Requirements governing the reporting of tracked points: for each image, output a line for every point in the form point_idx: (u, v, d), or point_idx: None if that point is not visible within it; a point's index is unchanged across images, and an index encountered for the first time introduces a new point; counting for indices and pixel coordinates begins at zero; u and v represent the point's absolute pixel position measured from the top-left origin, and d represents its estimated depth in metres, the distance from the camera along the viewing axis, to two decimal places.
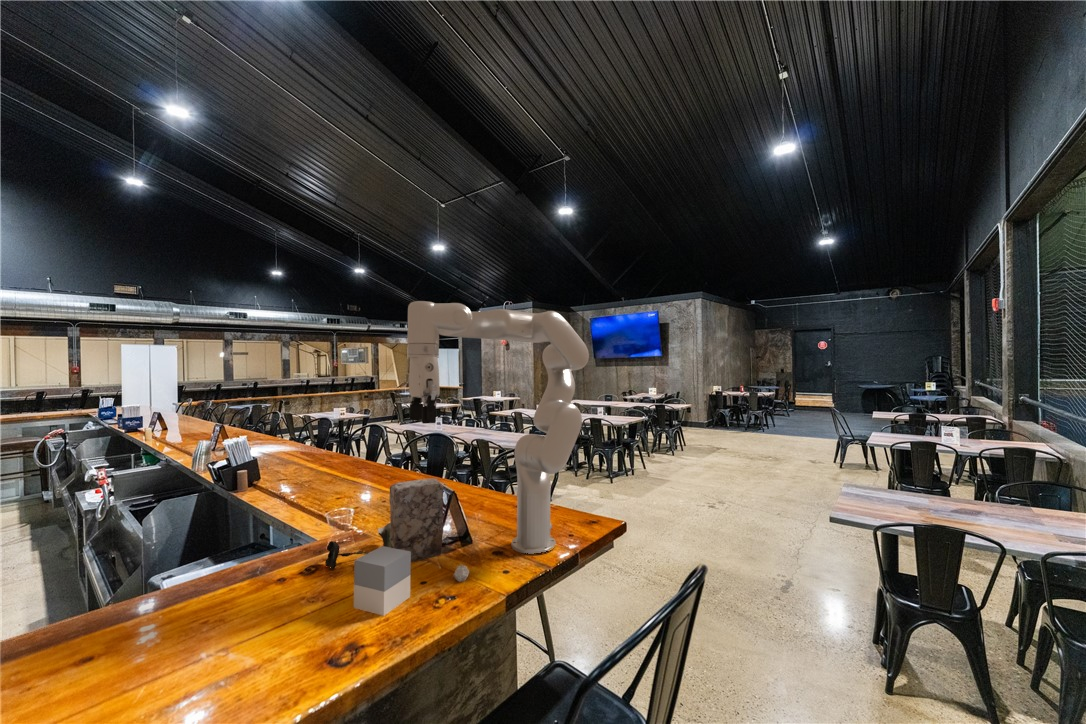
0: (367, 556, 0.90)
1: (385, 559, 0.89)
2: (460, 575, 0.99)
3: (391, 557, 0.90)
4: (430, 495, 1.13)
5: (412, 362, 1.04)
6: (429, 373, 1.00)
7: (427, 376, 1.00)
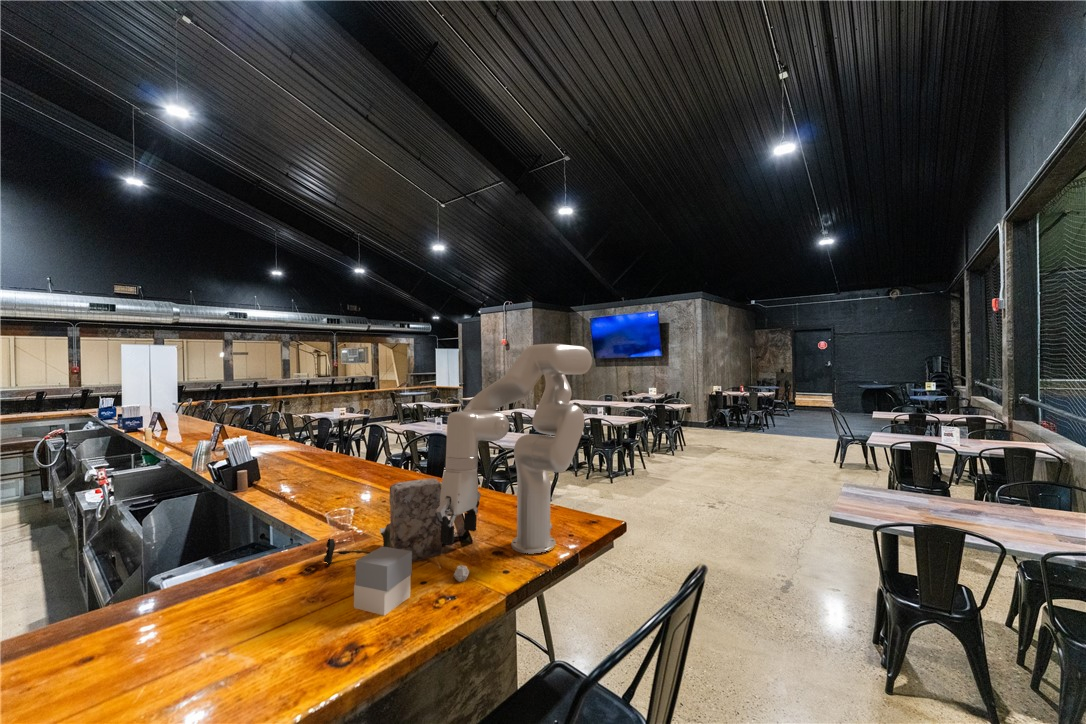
0: (368, 556, 0.90)
1: (387, 559, 0.89)
2: (460, 575, 0.99)
3: (392, 557, 0.90)
4: (430, 495, 1.13)
5: (468, 475, 1.00)
6: None
7: None
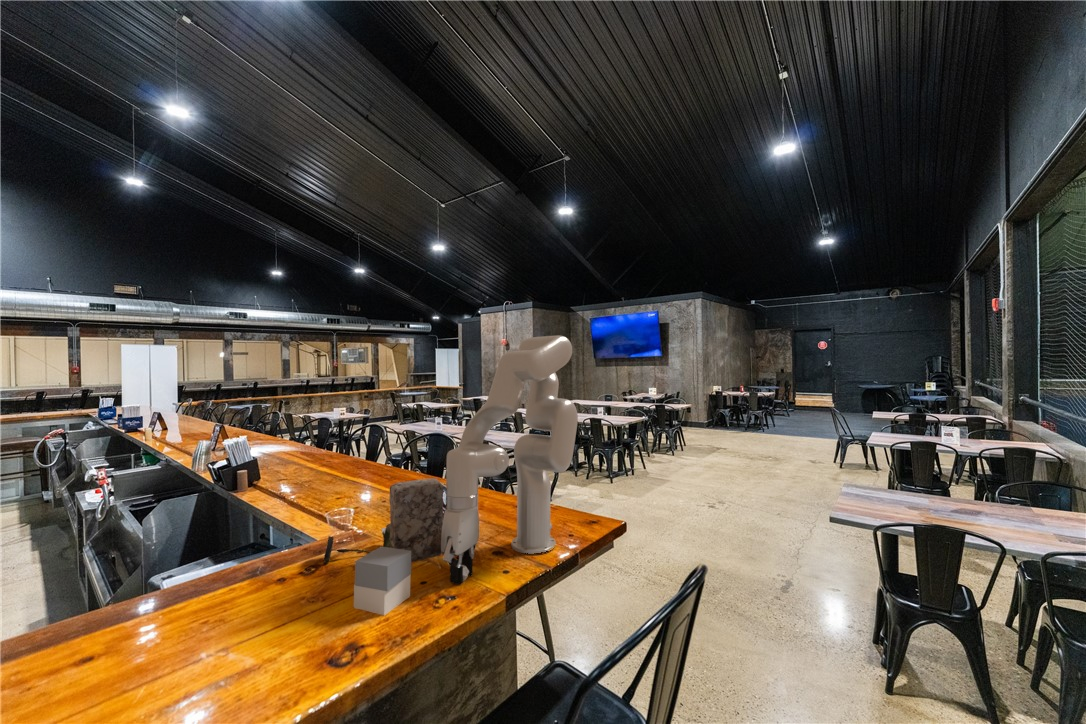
0: (367, 557, 0.90)
1: (386, 558, 0.89)
2: None
3: (392, 556, 0.90)
4: (430, 495, 1.13)
5: (469, 513, 1.00)
6: None
7: None
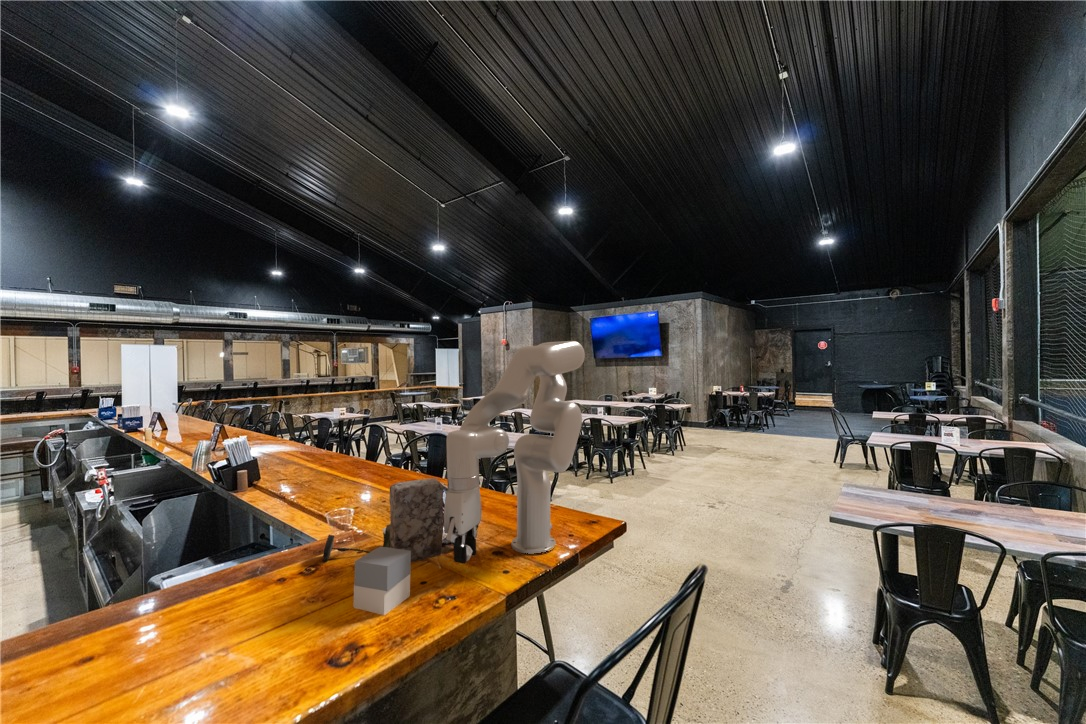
0: (367, 557, 0.90)
1: (386, 558, 0.89)
2: None
3: (392, 556, 0.90)
4: (430, 495, 1.13)
5: (471, 494, 1.00)
6: None
7: None
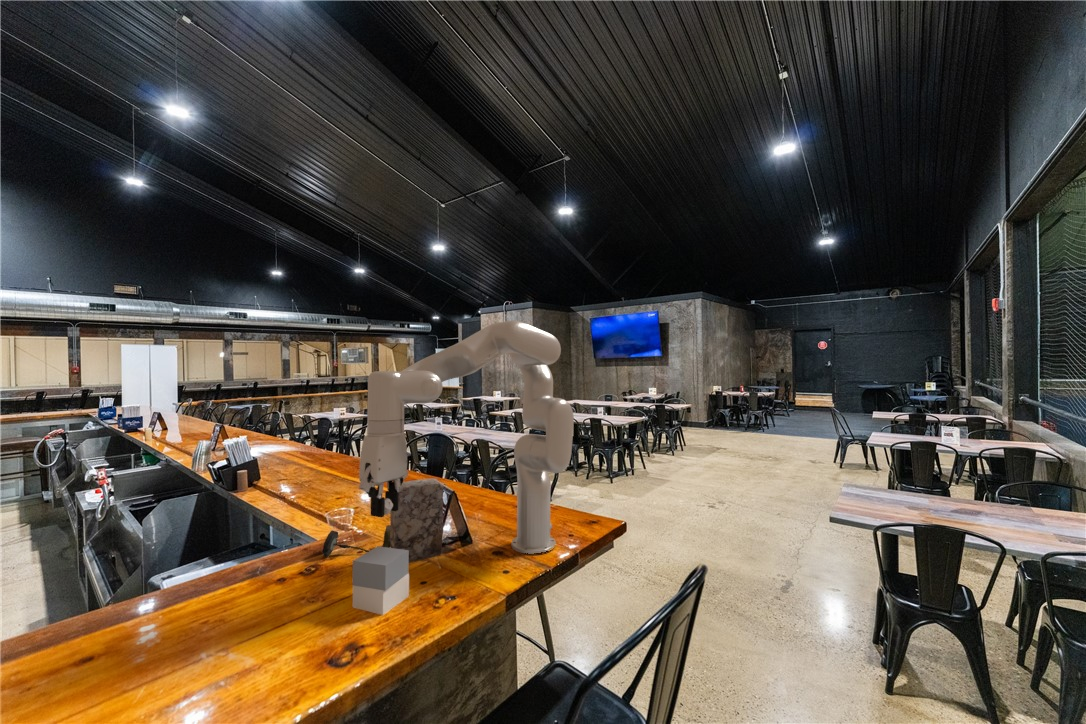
0: (365, 556, 0.90)
1: (384, 558, 0.89)
2: None
3: (390, 556, 0.90)
4: (430, 495, 1.13)
5: (392, 440, 0.90)
6: None
7: None
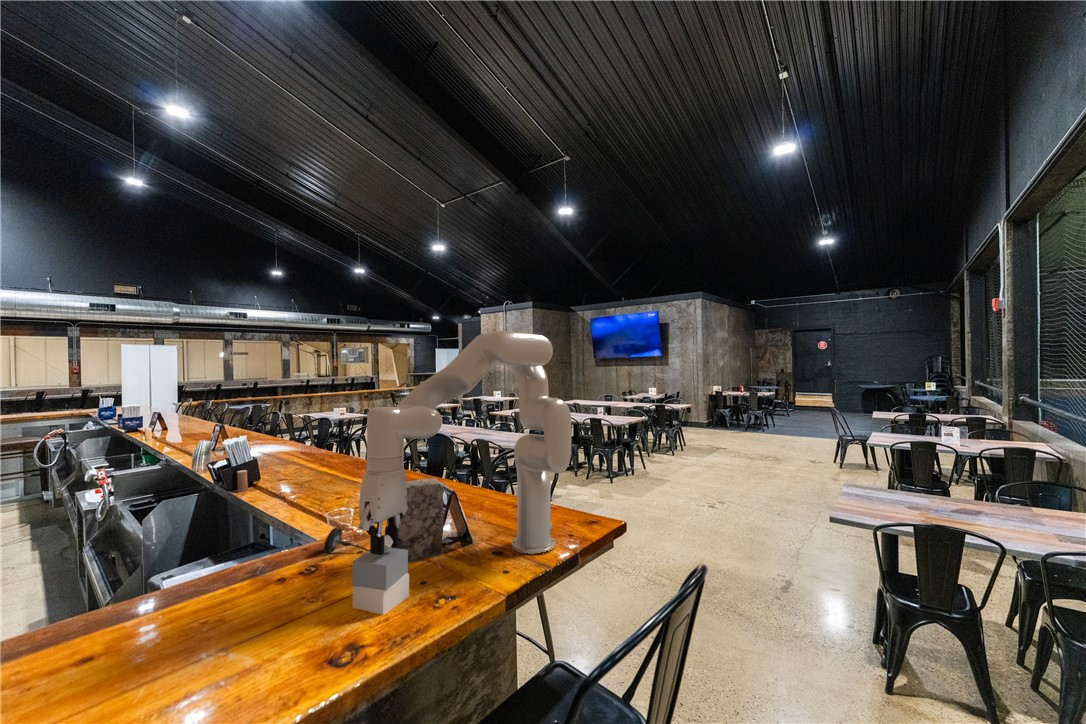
0: (364, 557, 0.90)
1: (384, 558, 0.89)
2: None
3: (389, 556, 0.91)
4: (431, 495, 1.13)
5: (392, 477, 0.90)
6: None
7: None
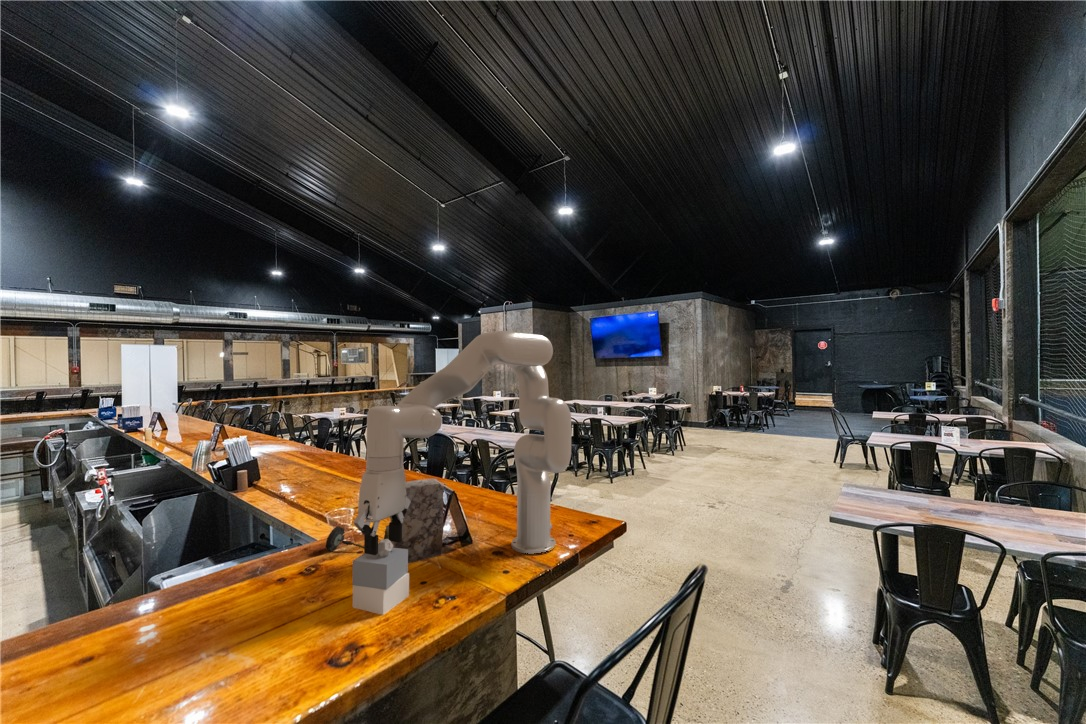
0: (365, 556, 0.90)
1: (384, 557, 0.90)
2: (381, 549, 0.90)
3: (390, 555, 0.91)
4: (431, 495, 1.12)
5: (391, 476, 0.90)
6: None
7: None
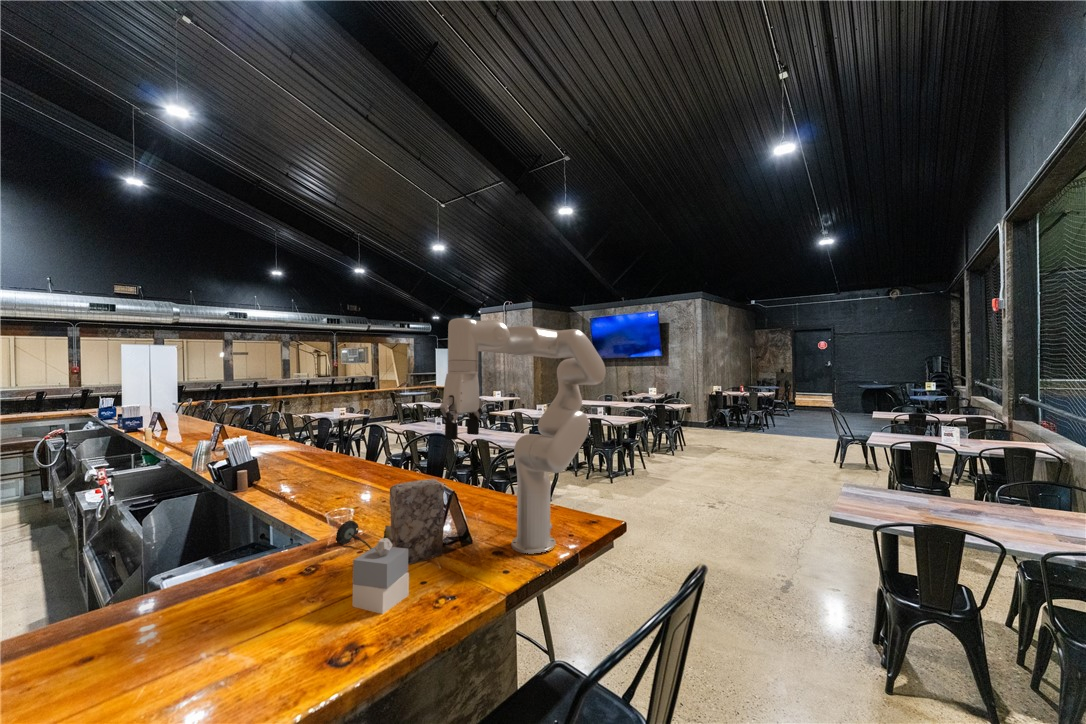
0: (365, 555, 0.91)
1: (385, 557, 0.90)
2: (380, 548, 0.90)
3: (390, 554, 0.91)
4: (432, 496, 1.12)
5: (470, 378, 1.04)
6: None
7: None
